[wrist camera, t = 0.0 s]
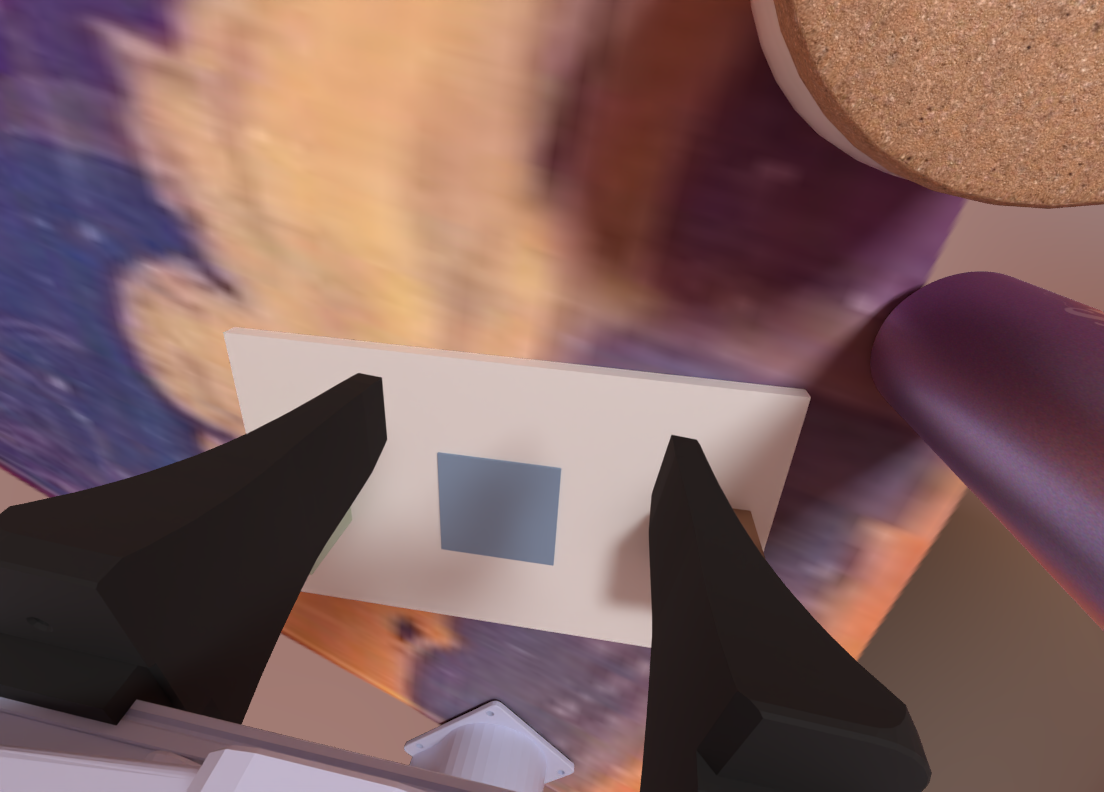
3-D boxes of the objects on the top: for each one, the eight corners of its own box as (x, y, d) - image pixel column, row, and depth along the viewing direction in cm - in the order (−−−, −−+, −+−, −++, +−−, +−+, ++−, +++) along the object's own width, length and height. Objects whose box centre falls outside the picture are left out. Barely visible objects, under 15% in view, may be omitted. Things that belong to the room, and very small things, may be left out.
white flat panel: (727, 647, 30) (730, 662, 29) (289, 578, 32) (280, 589, 32) (805, 389, 23) (811, 398, 22) (234, 326, 25) (221, 333, 24)
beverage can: (833, 380, 22) (1127, 746, 9) (924, 243, 20) (1538, 474, 6) (965, 430, 22) (1447, 862, 9) (1073, 300, 20) (1988, 647, 6)
